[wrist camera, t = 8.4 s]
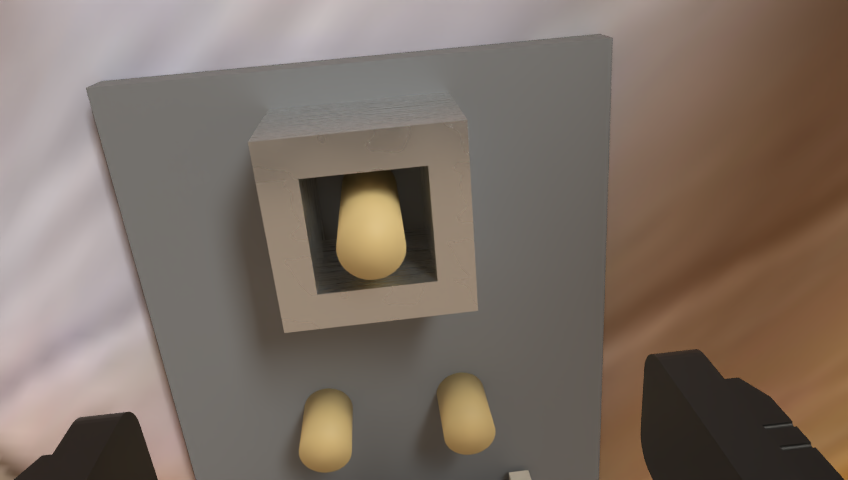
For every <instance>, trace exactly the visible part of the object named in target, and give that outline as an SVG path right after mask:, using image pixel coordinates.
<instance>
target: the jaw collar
mask: <svg viewBox="0 0 848 480" xmlns="http://www.w3.org/2000/svg"><path fill="white" fill-rule="evenodd" d="M248 146H249V151H250V156H251V162H252V167H253V172H254V177H255V183H256V188H257V193H258V198H259V203H260V209H261V214H262V219H263V224H264V230H265V235H266V240H267V245H268V250H269V256H270V261H271V266H272V271H273V277H274V282H275V287H276V292H277V297H278V303H279V308H280V313H281V318H282V324H283V329H284V333H289V332H298V331H306V330H315V329H324V328H332V327H341V326H350V325H358V324H367V323H376V322H385V321H393V320H402V319H411V318H419V317H428V316H437V315H445V314H454V313H463V312H472V311H478V300H477V282H476V265H475V247H474V229H473V211H472V193H471V175H470V157H469V139H468V121H467V119H466V117H465V116H464V114H463V113H462V111H461V110H460V108H459V107H458V105H457V104H456V102H455V101H454V99H453V98H452V96H451V95H450V93H449V92H443V93H432V94H422V95H412V96H402V97H392V98H382V99H372V100H361V101H351V102H341V103H331V104H321V105H311V106H301V107H290V108H280V109H270V110H268V111H267V113H266V114H265V116H264V117H263V119H262V121H261V122H260V124H259V125H258V127H257V128H256V130H255V132H254V133H253V135H252V136H251V138H250V139H249V141H248ZM410 167H420V175H421V187H422V198H423V210H424V221H425V229H417V230H408V231H404V234H405V241H406V254H405V258H404V260H403V262H402V264H401V265H400V266H399V268H398V269H397V270H396V271H394V272H393V273H392V274H390V275H388V276H386V277H384V278H381V279H376V280H366V279H361V278H358V277H356V276H353V275H352V274H350V273H349V272H348V271H346V270H345V269H344V268H343V266H342V265H341V263H340V262H339V259H338V257H337V253H336V243H337V238H334V239H325V238H324V232H323V225H322V219H321V212H320V206H319V199H318V193H317V186H316V180H315V177H323V176H333V175H343V174H352V173H362V172H372V171H381V170H391V169H400V168H410Z"/></svg>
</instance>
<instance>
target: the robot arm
mask: <svg viewBox="0 0 848 480" xmlns="http://www.w3.org/2000/svg"><path fill="white" fill-rule="evenodd" d="M641 444H642V450H643V455H644V459H645V462H646V465H647V468H648V470H649V472H650V475H651V477H652V478H653V480H844V479H843V478H842V477H841V475H840V474H839V473H838V472H837V471H836V470H835V469H834V468H833V467H832V465H831V464H830V463H829V462H828V461H827V460H826V459H825V458H824V456H823V455H822V454H821V453H820V452H819V451H818V450H817V449H816V448H812V446H811V442H810V441H809V440H808V439H807V437H806V436H805V435H804V434H803V433H802V432H801V431H800V430H799V428H798V427H797V426H796V427H794V426H793V424H792V421H791V419H790V418H789V417H788V416H787V415H786V414H785V413H784V412H783V411H782V409H781V408H780V407H779V406H778V405H777V404H776V403H775V402H774V400H773V399H772V398H771V397H770V396H768V395H766V394H765V393H763V392H761V391H760V390H758V389H756V388H755V387H753V386H752V385H750V384H748V383H747V382H745V381H743V380H742V379H740V378H731V379H724V378H723V377H722V375H721V374H720V373H719V372H718V371H717V369H716V368H715V367H714V366H713V365H712V363H711V362H710V361H709V360H708V358H707V357H706V356H705V355H704V354H703V353H702V352H701V351H700V350H697V349H694V350H685V351H677V352H668V353H659V354H650V355H648V357H647V358H646V361H645V367H644V383H643V400H642V417H641ZM14 480H158V479H157V476H156V473H155V470H154V467H153V464H152V460H151V457H150V454H149V451H148V448H147V445H146V442H145V439H144V436H143V433H142V430H141V427H140V424H139V421H138V419H137V417H136V416H135V415H134V414H133V413H131V412H123V413H115V414H106V415H97V416H88V417H80V418H78V419H76V420H75V421H74V422H73V424H72V425H71V426H70V428H69V430H68V431H67V433H66V434H65V436H64V437H63V439H62V440H61V442H60V444H59V445H58V447H57V448H56V450H55V451H54V453H53V454H52V455H43V456H41V457H40V458H39V459H37V460H36V461H35V462H34V463H33V464H32V465H30V466H29V467H28V468H27V469H26V470H25V471H23V472H22V473H21V474H20V475H19V476H18V477H16V478H15V479H14Z"/></svg>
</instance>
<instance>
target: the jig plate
mask: <svg viewBox="0 0 848 480" xmlns="http://www.w3.org/2000/svg"><path fill="white" fill-rule="evenodd" d="M612 44H613V38H611V37H608V36H605V35H601V34H595V35H585V36H574V37H564V38H553V39H543V40H532V41H522V42H511V43H500V44H490V45H479V46H469V47H458V48H448V49H437V50H427V51H416V52H406V53H395V54H385V55H374V56H363V57H353V58H342V59H332V60H321V61H311V62H300V63H290V64H279V65H269V66H258V67H248V68H237V69H227V70H216V71H205V72H195V73H184V74H174V75H163V76H153V77H142V78H132V79H121V80H111V81H101V82H98V83H96V84H94V85H92V86H89V87H87V88H86V90H87V94H88V97H89V101H90V104H91V108H92V112H93V115H94V119H95V122H96V126H97V129H98V133H99V136H100V140H101V144H102V147H103V151H104V154H105V158H106V161H107V165H108V168H109V172H110V176H111V179H112V183H113V186H114V190H115V193H116V197H117V200H118V204H119V208H120V211H121V215H122V218H123V222H124V225H125V229H126V232H127V236H128V240H129V243H130V247H131V250H132V254H133V257H134V261H135V265H136V268H137V272H138V275H139V279H140V282H141V286H142V289H143V293H144V297H145V300H146V304H147V307H148V311H149V314H150V318H151V321H152V325H153V329H154V332H155V336H156V339H157V343H158V346H159V350H160V353H161V357H162V361H163V364H164V368H165V371H166V375H167V378H168V382H169V385H170V389H171V393H172V396H173V400H174V403H175V407H176V410H177V414H178V417H179V421H180V425H181V428H182V432H183V435H184V439H185V442H186V446H187V450H188V453H189V457H190V460H191V464H192V467H193V471H194V474H195V478H196V480H509V472H516V471H524V470H528V471H529V474H530V477H531V480H599V461H600V429H601V397H602V365H603V332H604V300H605V268H606V236H607V204H608V172H609V140H610V108H611V76H612ZM443 92H449V93H450V95H451V96H452V98H453V99H454V101H455V102H456V104H457V105H458V107H459V108H460V110H461V111H462V113H463V114H464V116H465V117H466V119H467V121H468V139H469V157H470V175H471V193H472V211H473V229H474V247H475V265H476V282H477V300H478V311H472V312H463V313H454V314H445V315H437V316H428V317H419V318H411V319H402V320H393V321H385V322H376V323H367V324H358V325H350V326H341V327H332V328H324V329H315V330H306V331H298V332H289V333H284V329H283V324H282V318H281V313H280V308H279V303H278V297H277V292H276V287H275V282H274V277H273V271H272V266H271V261H270V256H269V250H268V245H267V240H266V235H265V230H264V224H263V219H262V214H261V209H260V203H259V198H258V193H257V188H256V183H255V177H254V172H253V167H252V162H251V156H250V151H249V146H248V141H249V139H250V138H251V136H252V135H253V133H254V132H255V130H256V128H257V127H258V125H259V124H260V122H261V121H262V119H263V117H264V116H265V114H266V113H267V111H268V110H270V109H280V108H290V107H301V106H311V105H321V104H331V103H341V102H351V101H361V100H372V99H382V98H392V97H402V96H412V95H422V94H432V93H443ZM315 180H316V186H317V193H318V199H319V206H320V212H321V219H322V225H323V232H324V238H325V239H334V238H337V243H336V253H337V257H338V259H339V262H340V263H341V265H342V266H343V268H344V269H345V270H346V271H348V272H349V273H350V274H352V275H353V276H356V277H358V278H361V279H366V280H376V279H381V278H384V277H386V276H388V275H390V274H392V273H393V272H394V271H396V270H397V269H398V268H399V266H400V265H401V264H402V262H403V260H404V258H405V254H406V241H405V234H404V231H408V230H417V229H425V221H424V210H423V198H422V187H421V175H420V167H410V168H400V169H391V170H381V171H372V172H362V173H352V174H343V175H333V176H323V177H315Z"/></svg>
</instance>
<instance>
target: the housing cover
mask: <svg viewBox="0 0 848 480" xmlns="http://www.w3.org/2000/svg"><path fill="white" fill-rule="evenodd" d="M509 480H531V477H530V474H529V471H528V470H524V471H516V472H509Z"/></svg>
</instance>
